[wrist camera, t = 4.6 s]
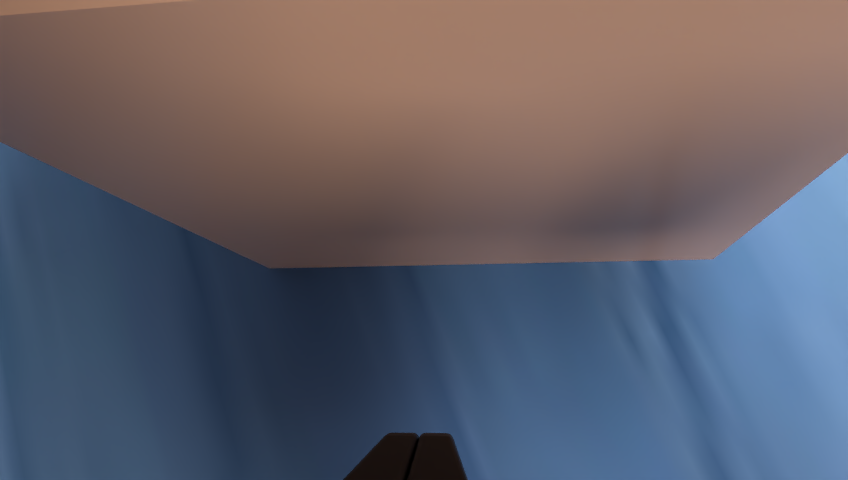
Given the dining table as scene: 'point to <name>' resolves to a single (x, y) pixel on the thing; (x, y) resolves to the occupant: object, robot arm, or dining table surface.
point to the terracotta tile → (435, 121)
